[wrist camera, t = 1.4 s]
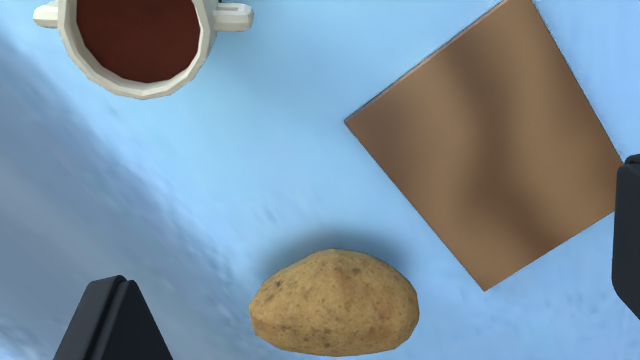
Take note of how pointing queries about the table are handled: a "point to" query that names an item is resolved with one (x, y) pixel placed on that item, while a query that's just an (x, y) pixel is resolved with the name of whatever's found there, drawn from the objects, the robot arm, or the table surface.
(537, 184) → the placemat
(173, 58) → the character mug
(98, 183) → the table surface
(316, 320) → the potato
